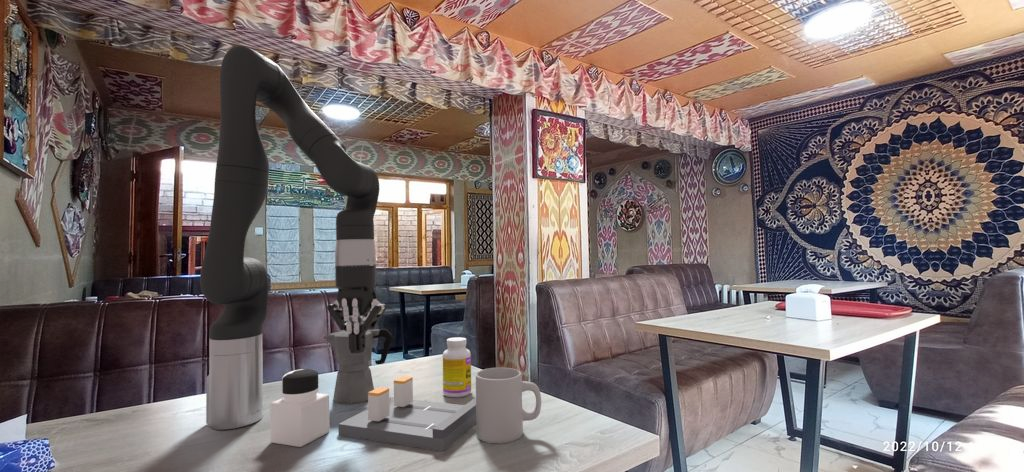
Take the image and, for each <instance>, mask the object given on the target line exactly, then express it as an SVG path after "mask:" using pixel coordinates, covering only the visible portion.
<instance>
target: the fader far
mask: <svg viewBox="0 0 1024 472" xmlns="http://www.w3.org/2000/svg"><path fill="white" fill-rule="evenodd" d="M413 380H414V379H413V377H412V376H404V375H402V376H400V377H399V378H398V377H397V378H396V379H394V380H393V397H394V406H399V407H405V406H407V405H408V404H410V403H412V402H413V400H414V397H413V395H414V389H413V387H414V386H413V385H414V383H413Z"/></svg>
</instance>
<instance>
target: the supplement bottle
mask: <svg viewBox="0 0 1024 472" xmlns="http://www.w3.org/2000/svg"><path fill="white" fill-rule="evenodd" d="M446 346H447V349H445V350H444V351H443V352H442V393H443V396H445V397H448V398H462V397H463V398H464V397H467V396H468V395H470V394H471V392H472V354H471V350H470V349H468V348H467V347H466V346H467V338H466V337H459V336H458V337H449V338H447V339H446Z"/></svg>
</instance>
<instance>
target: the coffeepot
mask: <svg viewBox="0 0 1024 472" xmlns="http://www.w3.org/2000/svg"><path fill="white" fill-rule="evenodd" d="M382 337H383V338H385V340H384V341H383V348H382V350H381V353H380V359H378V360H377V359H376V360H375V361H374V362H375V364H376V365H383V364H385V362H386V360H387V357H388V354H389V351H390V348H391V344H392V342H393V339H394V337H393V334H392V333H391V332H390V331H389V329H387V328H380V329H378V328H377V329H371V330H368V331H366V333H365V344H366V347H365V349H364V351H363V352H361V353H358V354H356V353H351V352H350V349H349V334H348V333H347V331H345V330H340V331H337V332H332V333H329V334H326V335H324V337H323V339H325V340H327V342H328V343H329V344H330V346H331V347H332V349H333V351H334V352H335V357H336V362H337V364H338V371H337V374H336V380H335V386H334V392H333V400H334V402H335V403H337V404H341V405H351V404H353V405H354V404H359V403H364V402H368V392H370V391H372V390H374V389H375V387H374V383H373V376H372V370H371V368H370V361H371V360H372V355H373V353H372V352H373V346H374V341H375V339H378V338H382Z"/></svg>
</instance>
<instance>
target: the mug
mask: <svg viewBox="0 0 1024 472" xmlns="http://www.w3.org/2000/svg"><path fill="white" fill-rule="evenodd" d="M526 391H528V392H532V393H534V396H535V406H534V407H535V408H534V409H533V410H531V411H528V410H525V409H523V392H526ZM475 399H476V424H475V430H476V431H475V432H476V434H475V435H476V436H477V438H478V439H479V440H480V441H482V442H485V443H487V444H489V443H490V444H507V443H511V442H514V441H517V440H519V439H520V438H522V436H523V433H524V423H523V422H526V421H528V422H529V421H533V420H536V419H537V418H538V417H539V416H540V413H541V410H542V409H541V408H542V395H541V391H540V388H539V386H538V385H537V384H536V383H535V382H531V381H527V380H526V381H524V380H523V379H522V373H521V371H520V370H519V369H516V368H511V367H490V368H485V369H482V370H479V371H478V372H476V374H475Z"/></svg>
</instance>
